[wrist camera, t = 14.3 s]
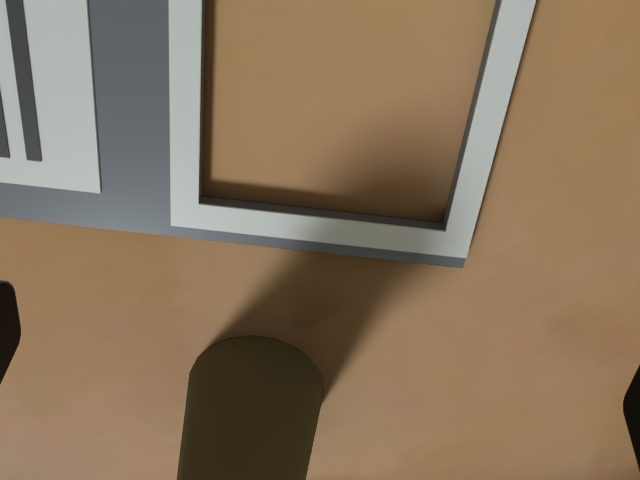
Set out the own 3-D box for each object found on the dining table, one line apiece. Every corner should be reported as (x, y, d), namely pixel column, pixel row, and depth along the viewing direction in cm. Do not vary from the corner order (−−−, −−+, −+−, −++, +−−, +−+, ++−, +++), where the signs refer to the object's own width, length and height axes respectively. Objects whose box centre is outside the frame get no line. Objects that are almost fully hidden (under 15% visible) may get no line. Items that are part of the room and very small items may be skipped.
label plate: (-147, 193, 22) (-161, 202, 22) (-261, -198, 17) (-286, -203, 16) (460, 260, 23) (463, 270, 23) (552, -92, 17) (561, -92, 17)
